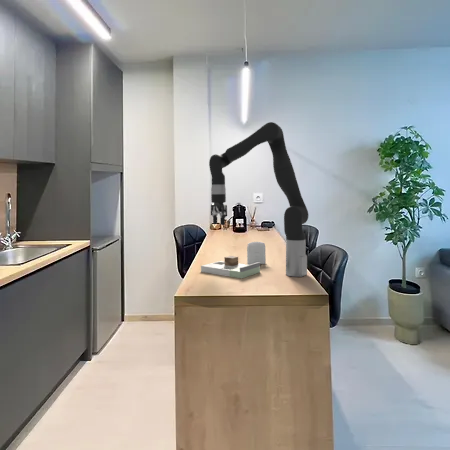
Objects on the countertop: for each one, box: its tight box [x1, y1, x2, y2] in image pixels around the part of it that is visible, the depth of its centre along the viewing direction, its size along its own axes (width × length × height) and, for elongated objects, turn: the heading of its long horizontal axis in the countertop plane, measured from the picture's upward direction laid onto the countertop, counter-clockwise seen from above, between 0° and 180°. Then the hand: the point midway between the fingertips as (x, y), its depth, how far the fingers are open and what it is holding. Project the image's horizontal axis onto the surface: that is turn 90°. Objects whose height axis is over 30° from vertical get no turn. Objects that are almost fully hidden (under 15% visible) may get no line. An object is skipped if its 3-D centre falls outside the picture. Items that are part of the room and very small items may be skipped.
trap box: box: [200, 260, 261, 279], centre depth 189 cm, size 25×16×5 cm, turn 53°
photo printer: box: [246, 241, 267, 265], centre depth 209 cm, size 10×4×12 cm, turn 96°
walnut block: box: [224, 255, 239, 266], centre depth 192 cm, size 5×5×4 cm
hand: (218, 224), depth 199 cm, fingers open, 8 cm apart
